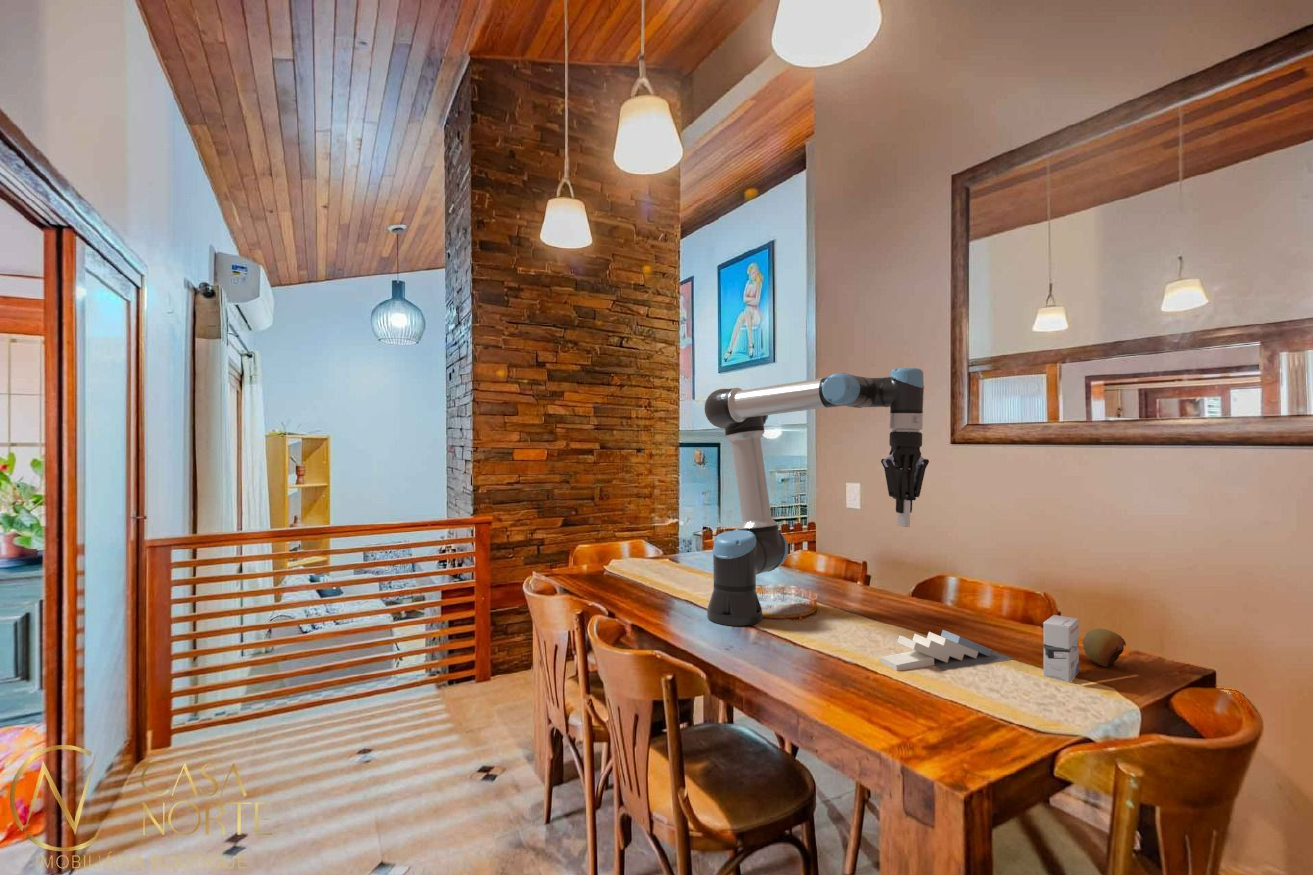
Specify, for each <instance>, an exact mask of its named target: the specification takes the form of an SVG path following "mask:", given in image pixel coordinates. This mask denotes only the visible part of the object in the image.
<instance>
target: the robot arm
mask: <svg viewBox="0 0 1313 875" xmlns="http://www.w3.org/2000/svg"><path fill="white" fill-rule="evenodd" d="M924 392H925V384H924V372H923V370H922V369H921V368H916V367H900V368H899V367H898V368H893V369H892V370H891V372H890V376H888V377H886V376H885V377H865V376H858V375H855V374H854V375H853V374H849V373H846V372H841V373H839V372H838V373H833V374H831V375H829V376H826V377H820V378H814V379H813V378H812V379H807V380H802V381H801V380H800V381H796V382H795V381H794V382H789V383H781V384H776V385H769V386H763V387H757V388H749V389H742V388H739V387H733V388H719V389H716V390H714V391H713V392H711V393H710V394H708V397H707V398H706V400H705V402H704V415H705V417H706V420H707V421H708V422H709V423H711V424H712V426H715V427H717V428H719V429H724V432H725V433H724V434H725V438H726V439H727V440H728V441H730V442H731V446H732V453H733V454H732V455H733V461H734V463H733V464H734V468H735V469H734V471H735V476H736V483H737V491H738V498H739V506H740V513H741V520H742V522H741V524H740V525H739V526H738V529H736V530H735V529H734V530H728V531H724V532H721V533H718V534H717V535H716V536H715V537H714V539H713V548H712V553H713V557H712V558H713V591H712V593H711V597H710V600H709V603H708V606H707V612H706V617H707V619H708V620H709V621H711V622H713V623H716V624H719V625H723V626H725V625H726V626H734V627H735V626H737V627H738V626H739V627H740V626H742V627H744V626H750V625H755V624H758V623H760V622H762V621H763V609H762V606H761V603H760V598H759V596H758V592H757V587H756V586H757V584H756V581H757V577H756V576H757V575H759V574H763V573H767V572H772V571H773V570H774V571H775V569H777V568H779V567H780V566H782V565H783V564H784V562H786V560H787V558H788V553H789V544H788V540H787V539H786V537H785V535H783V534H782V532H780V531H779V525H778V524H779V523H778V522H776V520H774V519H773V518H772V512H771V504H770V499H769V498H770V497H769V492H768V483H767V475H766V471H765V470H766V469H765V463H764V455H763V449H762V442H761V438H762V436H763V435H764V433H765V424H766V423H767V420H768V419H769V415H770V416H771V415H778V414H786V413H795V412H803V411H810V410H818V409H826V408H828V409H829V408H838V407H845V406H846V407H848V408H854V409H855V408H858V409H862V408H890V410H889V413H890V414H889V429H890V430H891V431H890V433H889V439H888V440H889V442H888V443H889V446H890V450H889V454H888V456H887V457H886V458H881V460H880V462H881V465H882V466H883V469H884V470H883V471H884V474H885V480H886V487H887V493H888V496H889V497H891V498H892V499H893V500H895V512H896V513H897V519H896V520H897V521H896V522H897V523H896V525H897V526H899V527H903V528H910V527H911V514H912V512H913V501H916V500H917V498H919V497H920V496H921V491H922V486H923V481H924V477H925V473H926V468H927V467H928V465H929V463H930V461H929V459H928V458H924V457H923V456H922V452H921V447H923V433H922V432H921V430H923V422H924V421H923V420H924V419H923V417H924V415H923V414H924Z"/></svg>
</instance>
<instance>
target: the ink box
mask: <svg viewBox="0 0 1313 875" xmlns="http://www.w3.org/2000/svg"><path fill="white" fill-rule="evenodd" d="M1079 622H1080V619H1079V618H1077V617H1071V616H1064V615H1057V614H1053V615H1052V616H1050V617H1049V618H1047V619H1046V620H1044V622H1042V625H1043V633H1042V634H1043V677H1045V678H1049V679H1054V680H1056V681H1061V682H1064V683H1071V682H1072V681H1073V680H1074V679H1075V677H1076V676H1078V674H1079V673H1080V659H1079V658H1080V652H1079V650H1080V648H1079V646H1080V645H1079V643H1080V642H1079V638H1080V636H1079V634H1080V632H1079V631H1080V630H1079V628H1080V626H1079V625H1080V624H1079Z"/></svg>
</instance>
